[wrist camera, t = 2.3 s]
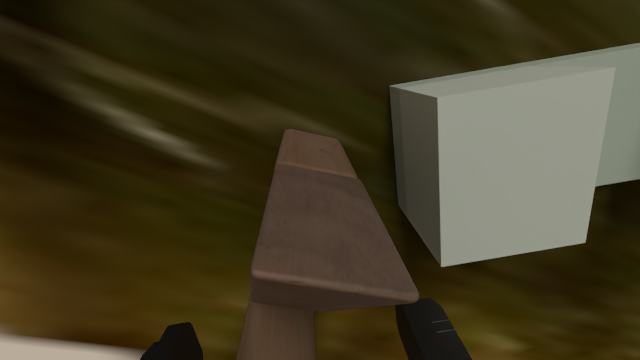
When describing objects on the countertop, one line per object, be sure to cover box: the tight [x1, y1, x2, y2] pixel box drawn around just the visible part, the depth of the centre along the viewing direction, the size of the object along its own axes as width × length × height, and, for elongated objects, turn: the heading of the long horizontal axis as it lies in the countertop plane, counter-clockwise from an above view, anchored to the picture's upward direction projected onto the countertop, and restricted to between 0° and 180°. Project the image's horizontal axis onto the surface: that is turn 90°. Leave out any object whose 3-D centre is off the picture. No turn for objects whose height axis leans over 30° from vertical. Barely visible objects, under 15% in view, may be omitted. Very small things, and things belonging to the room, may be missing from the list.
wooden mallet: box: [236, 129, 419, 360], centre depth 13 cm, size 4×11×18 cm, turn 167°
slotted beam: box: [389, 43, 640, 267], centre depth 17 cm, size 8×22×7 cm, turn 99°
